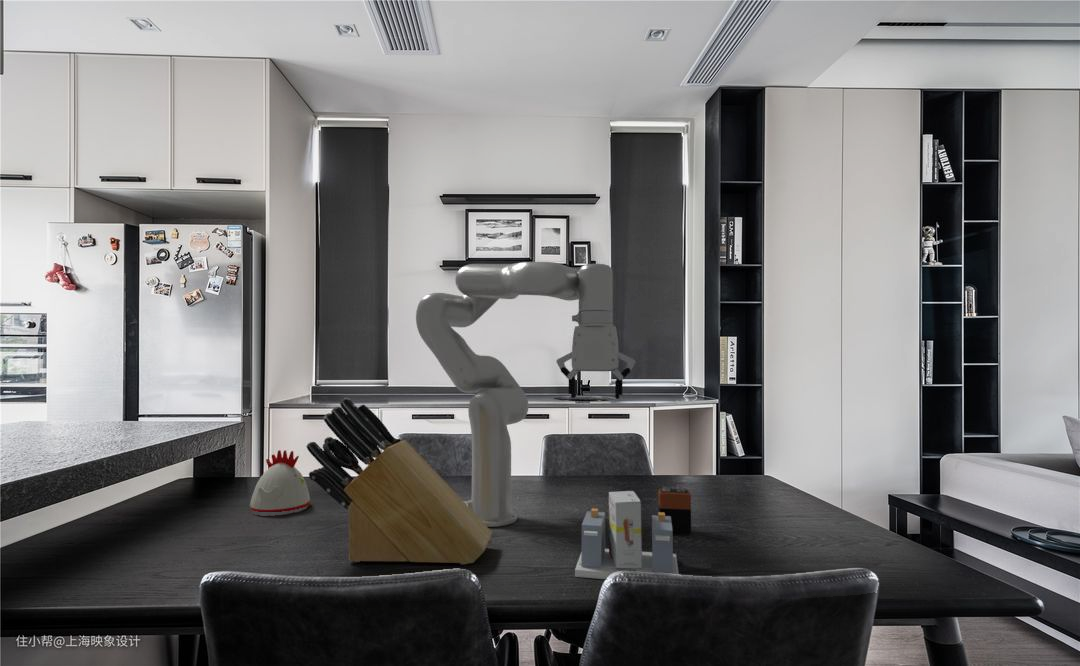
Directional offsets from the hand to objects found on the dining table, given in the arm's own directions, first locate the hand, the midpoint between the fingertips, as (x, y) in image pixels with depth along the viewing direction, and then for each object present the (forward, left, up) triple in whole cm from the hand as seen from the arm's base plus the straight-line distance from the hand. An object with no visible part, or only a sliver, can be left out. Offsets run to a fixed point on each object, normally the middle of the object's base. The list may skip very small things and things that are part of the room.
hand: (595, 397), depth 119 cm
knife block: (-37, -18, -31) cm, 51 cm away
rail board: (+8, -16, -30) cm, 35 cm away
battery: (+17, +8, -31) cm, 36 cm away
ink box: (+7, -16, -29) cm, 34 cm away
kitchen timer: (-82, +6, -31) cm, 88 cm away
